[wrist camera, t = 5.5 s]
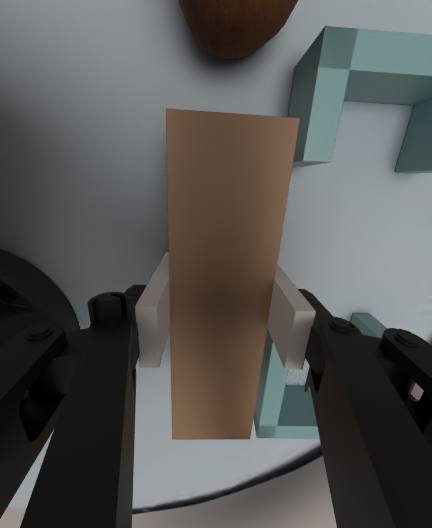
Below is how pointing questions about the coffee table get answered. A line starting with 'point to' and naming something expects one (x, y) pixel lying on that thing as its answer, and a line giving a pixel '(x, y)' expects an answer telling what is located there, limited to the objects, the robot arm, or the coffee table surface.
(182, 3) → the wooden figurine
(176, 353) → the slat
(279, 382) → the endcaps
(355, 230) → the coffee table surface
